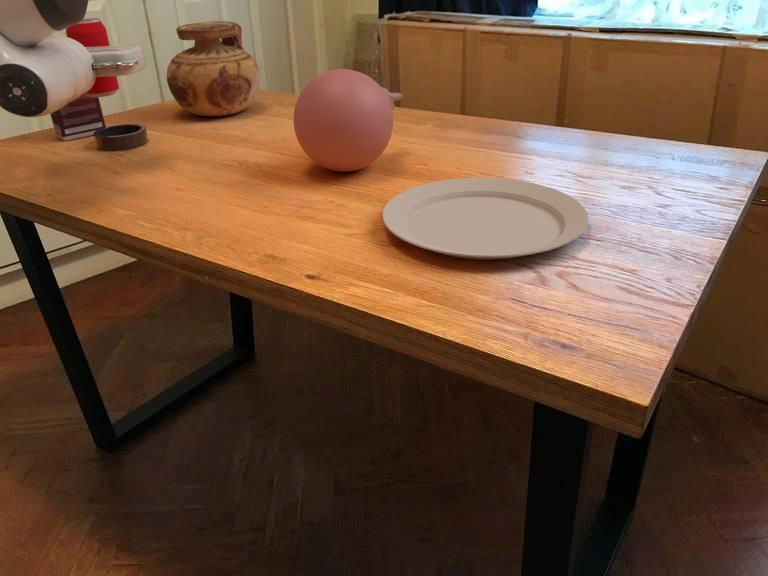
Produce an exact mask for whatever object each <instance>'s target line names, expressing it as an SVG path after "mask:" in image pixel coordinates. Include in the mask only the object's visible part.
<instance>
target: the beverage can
mask: <svg viewBox="0 0 768 576" xmlns="http://www.w3.org/2000/svg"><path fill="white" fill-rule="evenodd" d="M65 36H66V37H68V38H71V39H73V40H76V41H77V42H79V43H80V44H82V45H83V46H84V47H100V46H111V44H110V41H109V36H108V32H107V28H106V27H105V25H104V23H103V22H102V20H101V18H99V17H84V19H83V20H82V21H81V22H78V23H76V24H74V25H72V26H70V27H68V28H66V29H65ZM119 90H120V86H119V81H118V76H104V77H96V79H95V82H94V84H93V86H92V88H91V89H90V90H89V91H88V92H86V93H85V94H84V95H86V96H87V97H99V98H105V97H110V96H113V95H115V94H116V93H117V92H118V91H119Z"/></svg>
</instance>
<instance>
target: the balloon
mask: <svg viewBox="0 0 768 576" xmlns="http://www.w3.org/2000/svg"><path fill="white" fill-rule="evenodd" d="M403 97H404V96H403V94H402V93H400V92H396V91H395V92H389V90H388V89H387V88H386V87H384V86H381V85H380V84H379V83H378V82H376V80H374V79H373V78H372V77H370V76H369V75H367V74H365V73H362V72H360V71H358V70H354V69H349V68H348V69H347V68H338V69H331V70H328V71H325V72H323V73H320V74H319V75H317V76H316V77H314V78H313V79H312V80H310V81H309V82H308V83H307V84H306V85H305V87H303V89H302V90H301V92H300V94H299V96H298V97H297V99H296V103H295V105H294V112H293V129H294V133H295V136H296V140H297V142H298V144H299V146H300V147H301V149H302V151H303V152H304V154H306V156H307V157H308V158H309V159H311V160H312V161H313V162H314V163H315V164H317V165H318V166H320V167H322V168H324V169H327V170H330V171H333V172H340V173H346V172H347V173H348V172H354V171H355V172H356V171H359V170H361V169H364V168H366V167H369V166H370V165H371V164H373V163H374V162H375V161H376V160H378V158H380V157H381V155H382V154H383V153H384V152H385V151H386V148H387V147H388V145H389V143H390V141H391V138H392V134H393V130H394V113H393V110H394V109H395V103H396V102H398V101H402V100H403Z"/></svg>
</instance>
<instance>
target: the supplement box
mask: <svg viewBox="0 0 768 576" xmlns="http://www.w3.org/2000/svg"><path fill="white" fill-rule="evenodd" d="M49 115H50V118H51V123H52V126H53V129H54V132H55V136H56V137H57V138H58V139H60V140H61V141H63V142H67V141H72V140H77V139H80V138H85V137H89V136H94V135H93V134H94V132H95V131H96V130H98V129H101V128H104V127H107V126H106V121H105V117H104V113H103V110H102V105H101V103H100V97H87V96H86V95H84V94H83V95H81V96H80V97H78V98H77V99H75V100H73V101H71V102H69V103H68V104H67V105H66V106H64V107H62V108H61V109H59V110H57V111H55V112H53V113H51V114H49Z"/></svg>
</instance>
